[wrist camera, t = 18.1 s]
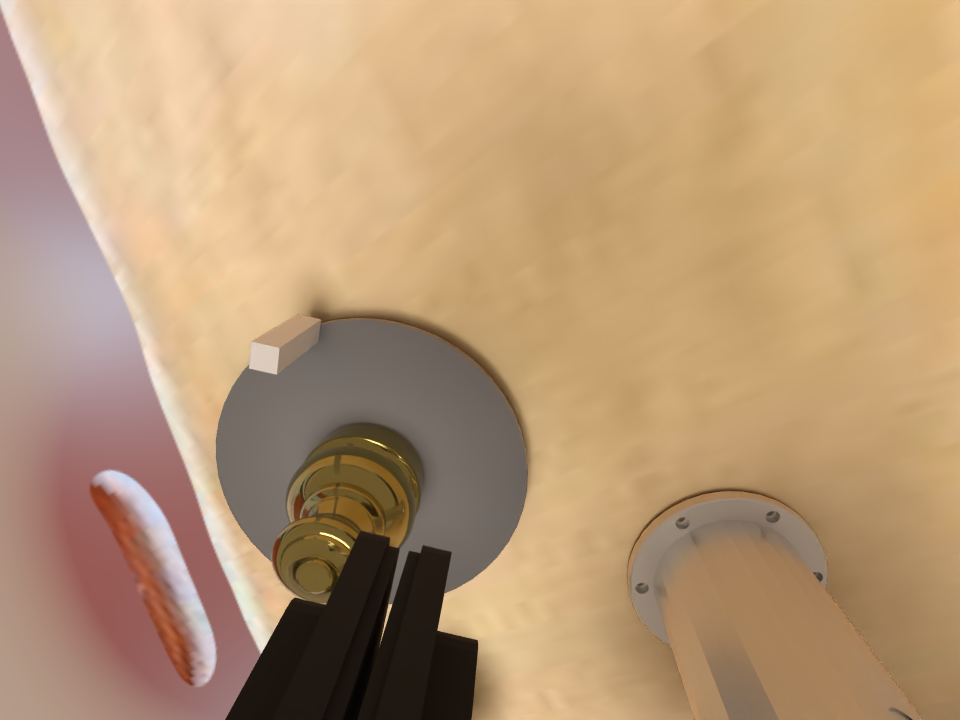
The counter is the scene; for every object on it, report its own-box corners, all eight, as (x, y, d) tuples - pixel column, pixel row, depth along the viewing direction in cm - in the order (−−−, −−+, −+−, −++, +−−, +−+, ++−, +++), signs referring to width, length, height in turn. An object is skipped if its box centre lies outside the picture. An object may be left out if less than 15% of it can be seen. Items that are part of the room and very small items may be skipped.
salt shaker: (303, 420, 35) (223, 509, 26) (422, 419, 35) (385, 510, 25) (318, 523, 37) (248, 640, 28) (430, 524, 37) (398, 644, 27)
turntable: (561, 358, 34) (571, 400, 27) (490, 623, 40) (484, 708, 33) (233, 285, 34) (165, 309, 27) (212, 560, 40) (153, 634, 33)
